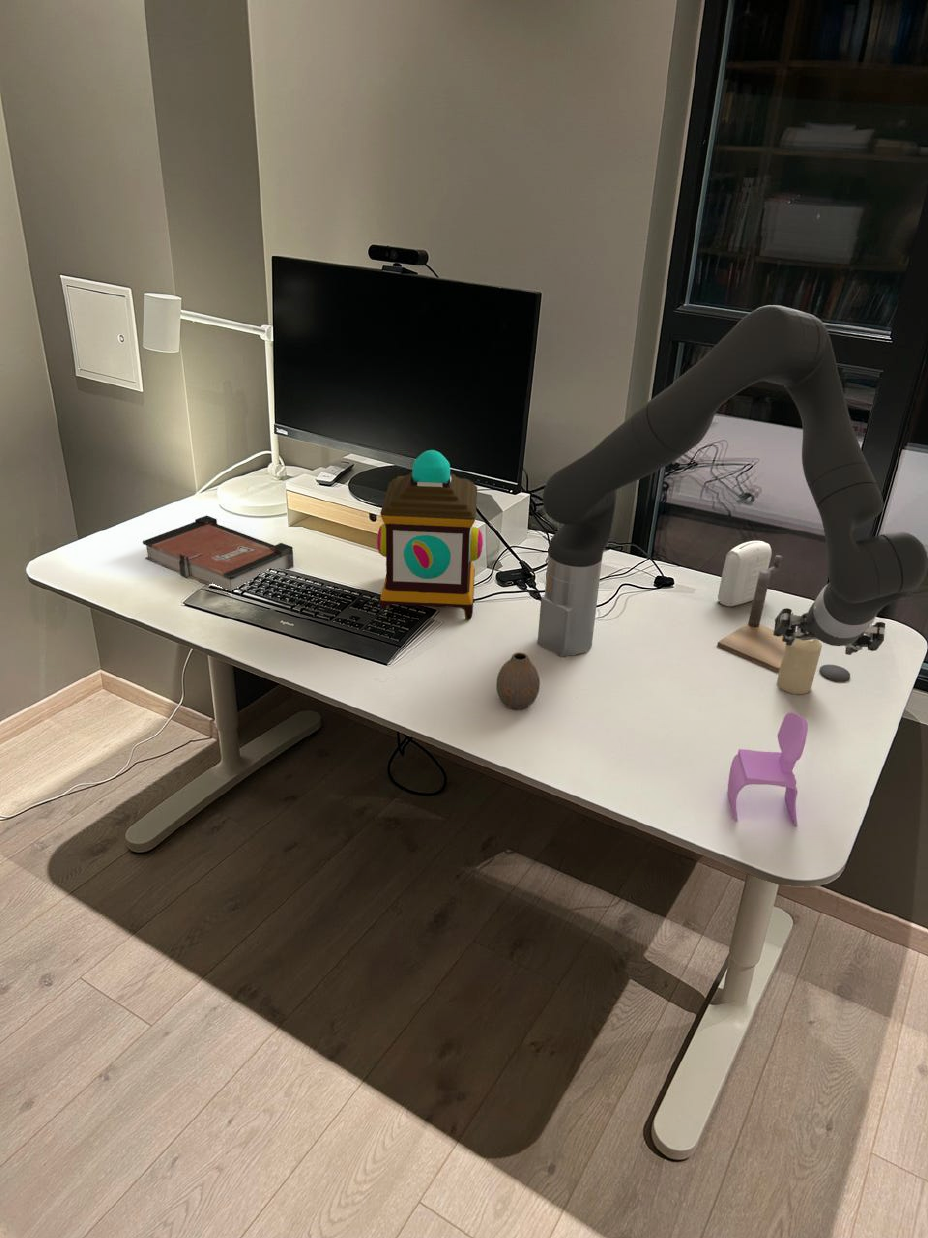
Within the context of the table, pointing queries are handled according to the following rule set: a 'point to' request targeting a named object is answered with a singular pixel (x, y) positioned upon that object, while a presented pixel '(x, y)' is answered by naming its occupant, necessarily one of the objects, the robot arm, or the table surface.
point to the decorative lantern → (429, 537)
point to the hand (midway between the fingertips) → (818, 643)
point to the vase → (518, 682)
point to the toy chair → (771, 764)
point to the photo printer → (743, 572)
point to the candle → (799, 666)
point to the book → (216, 553)
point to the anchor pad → (834, 673)
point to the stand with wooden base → (758, 630)
